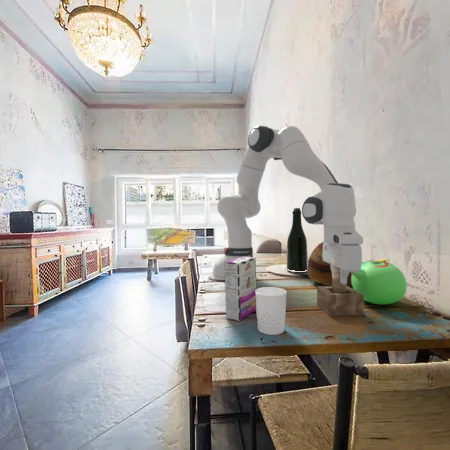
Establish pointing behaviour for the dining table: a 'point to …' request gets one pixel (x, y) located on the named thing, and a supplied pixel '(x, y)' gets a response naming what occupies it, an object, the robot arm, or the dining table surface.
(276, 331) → the white cup
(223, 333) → the dining table surface
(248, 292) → the candy bar box
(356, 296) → the socket block
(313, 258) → the brown clay vase
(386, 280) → the green rounded body
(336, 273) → the beech dowel
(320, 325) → the dining table surface
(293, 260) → the dark wine bottle
